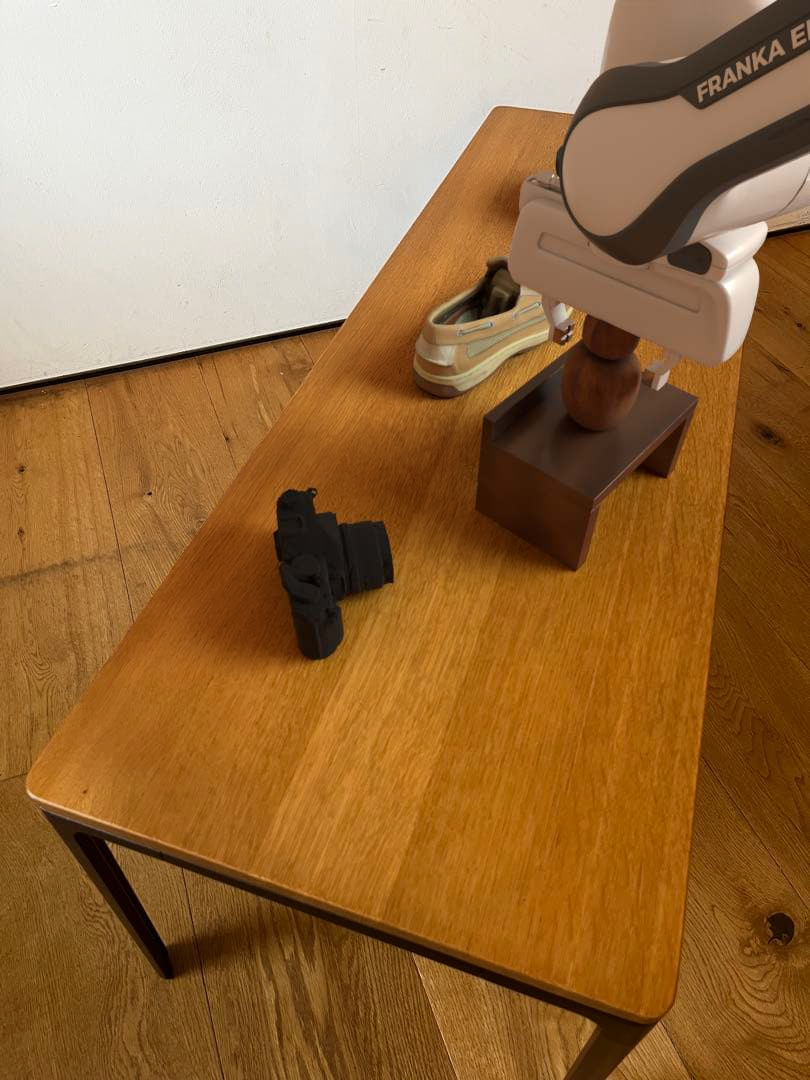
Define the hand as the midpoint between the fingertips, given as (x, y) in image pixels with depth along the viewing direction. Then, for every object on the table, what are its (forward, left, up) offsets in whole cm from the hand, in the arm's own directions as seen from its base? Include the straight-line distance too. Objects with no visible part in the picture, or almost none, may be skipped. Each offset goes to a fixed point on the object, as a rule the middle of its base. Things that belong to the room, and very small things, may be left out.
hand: (605, 361), depth 68 cm
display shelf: (0, 0, -16) cm, 16 cm away
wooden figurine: (0, 0, -6) cm, 6 cm away
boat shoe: (+21, -16, -16) cm, 31 cm away
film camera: (+9, +25, -16) cm, 31 cm away
